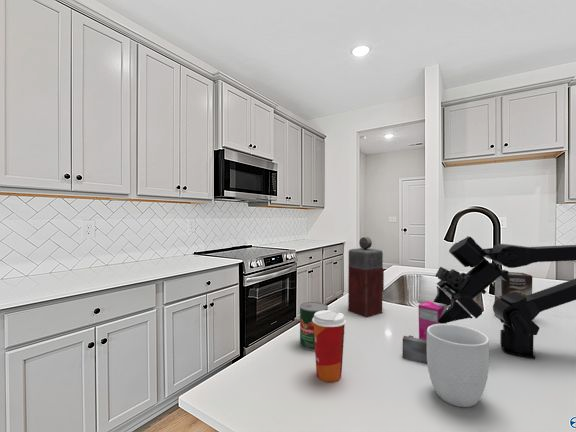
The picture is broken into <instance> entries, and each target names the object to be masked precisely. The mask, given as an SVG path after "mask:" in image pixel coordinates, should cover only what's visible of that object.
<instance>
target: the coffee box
mask: <svg viewBox="0 0 576 432" xmlns="http://www.w3.org/2000/svg"><path fill="white" fill-rule="evenodd" d="M508 276H509V281H505V280H502V279H500V278H498V279H496V280H495V281H494V302H495V301H496V300H497V299H499V298H500V297H499V296H504V295H507V294H509V293H511V292H514V291H515V292H517V293H519V294H521V295H523V296H526V295H530V294H533V275H531V274H528V273H525V272H513V271H509V273H508ZM493 313H494V312H493ZM494 316H495V317H496V318H497V319H499V320H500V318H499V317H498V316H497V315H496V314H495V313H494Z"/></svg>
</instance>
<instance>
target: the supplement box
mask: <svg viewBox="0 0 576 432" xmlns="http://www.w3.org/2000/svg"><path fill="white" fill-rule="evenodd" d="M417 306H418V308H417V309H418V339H423V340H427V328H428V327H429V326H431V325H434V324H440V323H439V322H438V320H439V318H440V317H441V316H442V315H443V314H444V313H445V311H446V310H447V309H448V308H447V307H448V306H447V305H446V304H441V303H435V302H433V301H430V300H427V301H424V302H422V303H420V304H418V305H417ZM443 324H448V323H443Z"/></svg>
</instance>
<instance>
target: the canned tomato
mask: <svg viewBox="0 0 576 432" xmlns="http://www.w3.org/2000/svg"><path fill="white" fill-rule="evenodd" d="M328 308H329V306H328V305H327V303H326V304H325V303H324V302H320V301H305V302H302V303H301V304H299V345H300V347H301V348H302V349H304V350H307V351H312V352H315V338H314V323H313V321H312V319H313V317H314V314H315V313H316V312H318V311H322V310H329V309H328Z"/></svg>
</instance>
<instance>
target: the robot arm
mask: <svg viewBox="0 0 576 432" xmlns="http://www.w3.org/2000/svg"><path fill="white" fill-rule="evenodd" d="M448 252H449V253H450V255H452V257H454V258H455V259H456V260H457V262H459V263H460V264H461V265H462V266H463V267H464V268H468V267H469V268H471V269H470V270H469V271H467V273H465V272H460V271H457V270H456V269H453V268H452V269H450V270H449V269H446V268H444V267H442V266H439V267H438V270H437V272H436V274H435V276H434V277H435V278H438V280H439V281H438V282H437V283H436V285H437V286H436V291H437V294H436V296H435V298H434V299H433V301H432V302H435V303H441V304H446V305H447V307H448V308H447V310H446V311H445V313H444V314H443V315H442V316H441V317H440V318H439V320H438V322H439V323H440V324H443V323H447V324H449V323H450V322H456V321H461V320H466V319H473V318H475V319H478V318H479V317H480V316H481V315H482V314H483V308H482V306H480V305H479V304H478V302H476V300H474V299H476V298H477V297H478V296H479V295H480V294H482V295H485V294H487V288H489V286H491V285H492V284H493V283H495V280H496V279H498V278H500V279H502V280H505V281H509V276H508V273H509V272H510V271H508V270H506V269H501V268H500V266H503V267H506V268H508V269H515V268H519V267H520V268H521V267H525V266H528V265H531V264H535V263H545V262H546V263H549V262H574V261H575V262H576V244H567V245H563V244H562V245H545V246H543V245H541V246H524V245H516V244H508V243H507V244H506V243H498V244H495V245H494V246H493V247H489V248H488V247H487V248H483V247H481V246H480V245H479V244H478V242H476V241H475V239H474V238H473V237H471V236H470V235H469V236H466V237H465V238H463V239H461V240H459V241H458V242H455V243H454V244H453V245H452V246H451V247H450V248H449V250H448ZM487 259H489V260H492V261H493V262H490V261H488V260H487ZM499 265H500V266H499ZM485 289H486V290H485ZM499 297H500V298H499V299H497V300H496V301H495V300H494V302H493V305H492V311H493V313H495V314H496V315H497V316H498V317H499V318H500V319H499V318H498V317H497V318H498V319H499V320H500V323H501V324H502V329H500V334H499V335H500V336H499V338H500V339H499V342H500V343H499V344H500V347H501V348H502V350H503V353H504V354H510V355H514V356H519V357H520V356H521V357H525V358H530V359H536V355H535V353H534V337H535V336H537V335H538V332H539V331H540V326H539V325H538V324H536V323H535V322H534V320H535V318H536V317H537V316H538V315H539V314H540V313H542V312H544V311H547V310H549V309H553V308H555V307H558V306H561V305H565V304H568V303H571V302H573V301H576V278H574V279H571V280H570V279H569V280H568V281H565V282H562V283H559V284H557V285H553V286H550V287H547V288H544V289H542V290H540V291H536V292H532V294H530V295H526V296H523V295H521V294H519V293H517V292H515V291H514V292H511V293H509V294H507V295H504V296H499Z"/></svg>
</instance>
